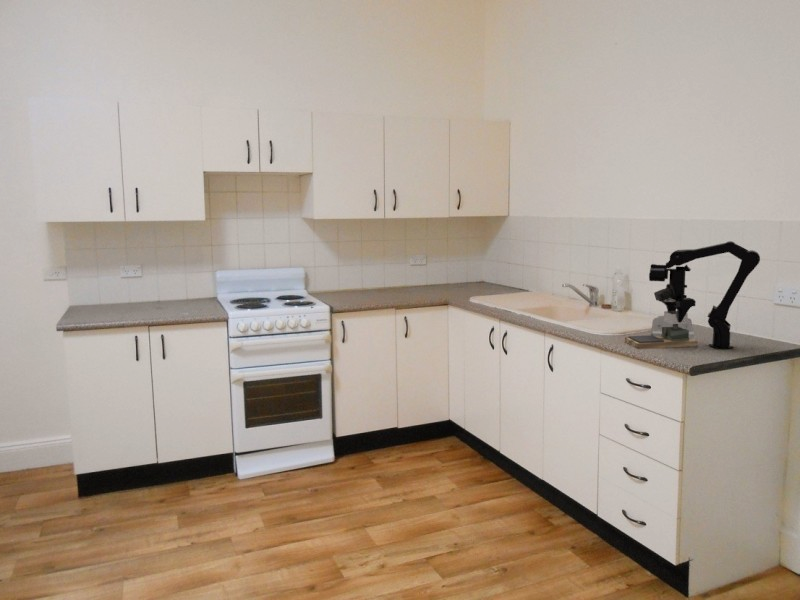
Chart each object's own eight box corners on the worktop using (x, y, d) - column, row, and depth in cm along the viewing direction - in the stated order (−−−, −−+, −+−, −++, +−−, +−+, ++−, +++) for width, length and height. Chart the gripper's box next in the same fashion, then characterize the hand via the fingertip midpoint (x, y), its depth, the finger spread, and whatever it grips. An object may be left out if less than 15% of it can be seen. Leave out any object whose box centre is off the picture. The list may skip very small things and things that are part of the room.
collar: (687, 323, 252) (687, 313, 252) (671, 324, 252) (672, 314, 251) (679, 320, 259) (679, 310, 258) (663, 321, 258) (664, 311, 258)
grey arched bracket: (652, 337, 268) (651, 313, 270) (650, 338, 273) (650, 315, 275) (695, 338, 264) (694, 314, 266) (692, 339, 269) (692, 316, 271)
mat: (664, 342, 251) (664, 340, 251) (639, 343, 250) (639, 341, 250) (652, 336, 261) (652, 335, 261) (628, 337, 260) (628, 336, 260)
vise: (697, 346, 251) (698, 323, 250) (637, 348, 250) (638, 326, 248) (680, 339, 263) (681, 317, 262) (624, 341, 262) (625, 320, 260)
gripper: (646, 279, 261) (645, 317, 264) (668, 285, 243) (667, 326, 245) (673, 278, 262) (671, 316, 265) (697, 284, 244) (695, 324, 246)
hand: (675, 320), depth 255 cm, fingers closed on collar, 6 cm apart
